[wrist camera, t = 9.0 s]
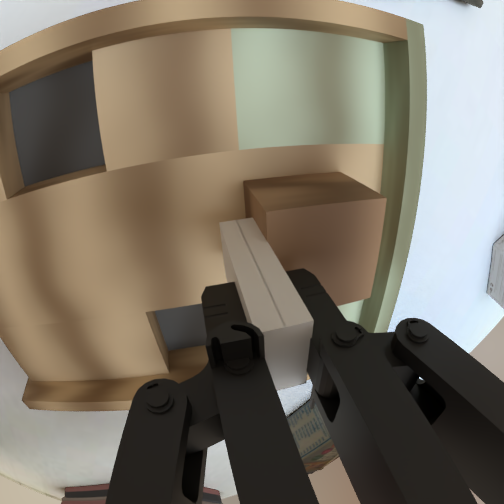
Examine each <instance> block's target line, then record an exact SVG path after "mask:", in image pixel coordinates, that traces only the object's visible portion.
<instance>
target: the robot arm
mask: <svg viewBox="0 0 504 504" xmlns="http://www.w3.org/2000/svg"><path fill="white" fill-rule="evenodd" d="M219 225H220V233H221V242H222V250H223V258H224V266H225V274H226V279H227V283H224V284H218V285H212V286H206V287H205V289H204V291H203V293H202V296H201V301H202V308H203V314H204V321H205V328H206V334H207V338H206V345H205V347H206V351H207V355H208V359H209V360H208V363H207V365H206V366H205V368H204V369H203V370H202V371H201V372H200V373H199V374H197V375H195V376H194V377H192V378H190V379H188V380H185V381H183V382H181V383H179V384H178V383H177V382H176V381H174V380H170V379H166V378H162V379H154V380H151V381H149V382H146V383H145V384H143V385H142V386H141V387H140V388H139V389H138V390H137V392H136V393H135V395H134V397H133V400H132V403H131V407H130V410H129V413H128V417H127V420H126V424H125V427H124V431H123V434H122V438H121V441H120V445H119V449H118V453H117V456H116V460H115V464H114V468H113V472H112V476H111V480H110V484H109V489H108V493H107V498H106V502H105V504H202V498H203V487H204V477H205V467H206V458H207V448H208V447H210V446H212V445H214V444H216V443H218V442H220V441H222V440H224V439H225V442H226V447H227V452H228V456H229V460H230V465H231V469H232V473H233V477H234V481H235V486H236V490H237V493H238V497H239V501H240V504H319V503H318V500H317V497H316V495H315V492H314V490H313V487H312V485H311V482H310V479H309V477H308V474H307V472H306V469H305V466H304V464H303V461H302V458H301V456H300V453H299V450H298V448H297V445H296V442H295V440H294V437H293V434H292V432H291V429H290V426H289V424H288V421H287V418H286V415H285V413H284V410H283V407H282V404H281V402H280V399H279V396H278V393H277V390H281V389H285V388H289V387H293V386H297V385H301V384H304V383H306V380H307V373H308V375H309V377H310V379H311V382H312V384H313V387H312V393H311V398H310V403H309V404H310V409H314V406H315V403H316V405H317V408H318V410H319V412H320V414H321V417H322V419H323V421H324V423H325V426H326V428H327V430H328V432H329V435H330V437H331V439H332V441H333V443H334V446H335V448H336V450H337V452H338V455H339V457H340V459H341V461H342V464H343V466H344V468H345V470H346V472H347V475H348V477H349V479H350V481H351V484H352V486H353V488H354V490H355V492H356V495H357V497H358V499H359V501H360V503H361V504H477V502H476V500H475V498H474V496H473V495H472V493H471V491H470V489H471V490H472V491H473V492H474V493H475V494H476V495H477V496H478V497H479V498H480V499H481V500H482V501H483V502H484V503H485V504H504V382H502V381H501V380H500V379H499V378H498V377H496V376H495V375H494V374H493V373H491V372H490V371H489V370H488V369H487V368H486V367H484V366H483V365H482V364H481V363H479V362H478V361H477V360H476V359H474V358H473V357H472V356H471V355H470V354H468V353H467V352H466V351H464V350H463V349H462V348H461V347H459V346H458V345H457V344H456V343H454V342H453V341H452V340H451V339H449V338H448V337H447V336H445V335H444V334H443V333H441V332H440V331H439V330H438V329H436V328H435V327H434V326H432V325H431V324H430V323H428V322H426V321H424V320H422V319H417V318H407V319H405V320H402V321H401V322H400V323H399V324H398V325H397V326H396V329H395V332H383V333H370V332H367V331H366V330H365V329H364V328H363V327H362V326H361V325H359V324H357V323H355V322H352V321H347V320H346V319H345V317H344V316H343V314H342V313H341V312H340V310H339V309H338V307H337V306H336V304H335V303H334V302H333V300H332V299H331V297H330V296H329V294H328V293H326V290H325V289H324V287H323V286H321V283H320V282H319V280H318V279H317V278H316V276H315V275H314V274H312V273H311V272H309V271H308V270H306V269H304V268H302V269H296V270H291V271H285V270H284V268H283V267H282V265H281V263H280V262H279V260H278V258H277V257H276V255H275V253H274V252H273V250H272V248H271V246H270V245H269V243H268V242H267V241H266V239H265V237H264V236H263V234H262V232H261V231H260V229H259V227H258V225H257V224H256V222H255V220H254V219H253V218H246V219H239V220H232V221H225V222H219ZM419 377H421V378H422V379H423V380H421V379H419ZM469 488H470V489H469Z"/></svg>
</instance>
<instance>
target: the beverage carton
mask: <svg viewBox="0 0 504 504" xmlns="http://www.w3.org/2000/svg"><path fill="white" fill-rule="evenodd" d="M309 403H310V400H309V401H308V402H307V403H306V404H304V405H303V406H302V407H301V408H300V409H298V410H297V411H296V412H294V413H293V414H292V415H291V416H289V417H288V418H287V421H288V424H289V426H290V429H291V432H292V434H293V437H294V440H295V442H296V445H297V448H298V450H299V453H300V456H301V458H302V461H303V464H304V466H305V469H306V472H307V474H312V473H313V472H315V471H317V470H322V469H323V468H324V467H325V466H326V465H328V464H329V463H331V462H332V461H334V460H335V459H337V458H338V457H339V455H338V452H337V450H336V448H335V446H334V443H333V441H332V439H331V437H330V435H329V432H328V430H327V428H326V426H325V423H324V421H323V419H322V417H321V414H320V412H319V410H318V408H317V405H316V403H315V406H314V409H310V404H309Z"/></svg>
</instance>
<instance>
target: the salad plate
mask: <svg viewBox="0 0 504 504" xmlns="http://www.w3.org/2000/svg"><path fill="white" fill-rule="evenodd" d="M463 1H465V2H467V3H469V4H471V5H473V6H476V7H478V8H481V7H482V5H483V1H482V0H463Z"/></svg>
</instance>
